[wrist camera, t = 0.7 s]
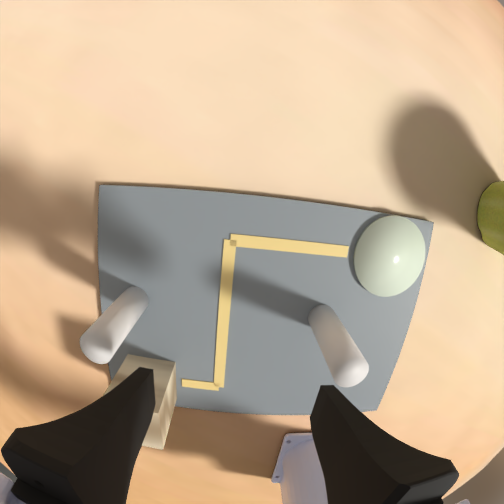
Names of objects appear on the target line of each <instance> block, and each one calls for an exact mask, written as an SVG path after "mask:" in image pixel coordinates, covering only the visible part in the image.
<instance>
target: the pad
mask: <svg viewBox="0 0 504 504" xmlns="http://www.w3.org/2000/svg"><path fill="white" fill-rule="evenodd" d="M424 261H425V242H424V238H423V236H422V233H421V231H420V230H419V228H418V227H417V226H416V225H415V224H414V223H413V222H412V221H410V220H409V219H407V218H404V217H401V216H396V215H388V216H384V217H381V218H379V219H377V220H375V221H373V222H372V223H371V224H370V225H368V226H367V227H366V229H365V230H364V231H363V232H362V234H361V235H360V237H359V239H358V241H357V244H356V246H355V250H354V257H353V264H354V270H355V274H356V276H357V279H358V280H359V282H360V283H361V285H362V286H363V287H364V288H365V289H366V290H367V291H369V292H370V293H372V294H374V295H377V296H381V297H390V296H395V295H398V294H400V293H402V292H403V291H405V290H406V289H408V288H409V287H410V286H411V285H412V284H413V283H414V282H415V281H416V279H417V278H418V276H419V274H420V272H421V270H422V268H423V265H424Z"/></svg>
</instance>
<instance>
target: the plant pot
mask: <svg viewBox="0 0 504 504" xmlns="http://www.w3.org/2000/svg"><path fill="white" fill-rule="evenodd" d="M477 220H478V227H479V229H480V231H481V234H482V239H483V241H484V242H485V244H486V245H488V246H489V247H491V248H493V249H495V250H496V251H498V252H500V253H501V254H503V255H504V181H500V182H494V183H492V184H491V185H490V186H489V187H488V188H487V189H486V190H485V191H484V192H483V193H482V196H481V198H480V201H479V206H478V215H477Z"/></svg>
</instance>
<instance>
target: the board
mask: <svg viewBox="0 0 504 504" xmlns="http://www.w3.org/2000/svg"><path fill="white" fill-rule="evenodd" d="M388 215H393V214H387V213H382V212H376V211H369V210H363V209H357V208H350V207H344V206H337V205H330V204H323V203H316V202H308V201H301V200H293V199H284V198H276V197H267V196H258V195H248V194H238V193H228V192H217V191H205V190H192V189H178V188H163V187H145V186H124V185H99V204H98V265H99V285H100V299H101V311H102V315H101V316H100V317H99V318H98V319H97V320H96V321H95V322H94V323H93V324H92V325H91V326H90V327H89V328H88V329H87V330H86V331H85V332H84V333H83V335H82V336H81V338H80V347H81V350H82V352H83V353H84V354H85V356H86V357H87V358H88V359H90V360H91V361H93V362H95V363H98V364H106V363H108V365H109V371H110V376H111V382H112V380H113V378H114V376H115V375H116V373H117V371H118V370H119V368H120V366H121V365H122V363H123V361H124V360H125V358H126V356H127V355H128V354H130V355H136V356H141V357H147V358H153V359H159V360H165V361H172V362H176V390H177V400H176V404H175V406H177V407H184V408H191V409H199V410H208V411H218V412H229V413H243V414H262V415H311V413H312V410H313V407H314V404H315V401H316V398H317V395H318V392H319V389H320V386H321V385H334V386H335V387H336V388H337V389H338V390H339V391H340V392H341V393H342V394H343V395H344V396H345V397H346V398H347V399H348V400H349V401H350V402H351V403H352V404H353V405H354V406H355V407H356V408H357V409H358V410H359V411H360V412H366V411H375V410H377V408H378V406H379V404H380V402H381V399H382V397H383V395H384V392H385V390H386V388H387V385H388V383H389V380H390V378H391V375H392V373H393V370H394V368H395V365H396V362H397V360H398V357H399V354H400V351H401V349H402V346H403V343H404V340H405V337H406V334H407V331H408V328H409V325H410V321H411V318H412V315H413V311H414V308H415V304H416V301H417V297H418V294H419V290H420V286H421V282H422V278H423V274H424V269H425V265H426V260H427V256H428V251H429V246H430V241H431V235H432V230H433V224H434V222H430V221H425V220H420V219H415V218H410V217H404V216H401V217H404V218H407V219H409V220H410V221H412V222H413V223H414V224H415V225H416V226H417V227H418V228H419V230H420V231H421V233H422V236H423V238H424V242H425V261H424V265H423V268H422V270H421V272H420V274H419V276H418V278H417V279H416V281H415V282H414V283H413V284H412V285H411V286H410V287H409V288H408V289H406V290H405V291H403V292H402V293H400V294H398V295H395V296H390V297H381V296H377V295H374V294H372V293H370V292H369V291H367V290H366V289H365V288H364V287H363V286H362V285H361V283H360V282H359V280H358V279H357V276H356V274H355V270H354V264H353V257H354V250H355V246H356V244H357V241H358V239H359V237H360V235H361V234H362V232H363V231H364V230H365V229H366V227H367V226H368V225H370V224H371V223H372V222H373V221H375V220H377V219H379V218H381V217H384V216H388ZM396 216H399V215H396Z"/></svg>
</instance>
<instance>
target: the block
mask: <svg viewBox="0 0 504 504" xmlns="http://www.w3.org/2000/svg"><path fill="white" fill-rule="evenodd" d="M139 367H144V368H149V369H153V373H154V388H155V401H156V404H155V408H154V412H153V416H152V420H151V423H150V426H149V428H148V431H147V433H146V436H145V438H144V441H143V443H142V446H146V447H151V448H156V449H162V450H163V449H164V445H165V441H166V437H167V434H168V430H169V426H170V422H171V419H172V415H173V411H174V407H175V404H176V400H177V390H176V362H172V361H165V360H159V359H153V358H147V357H141V356H136V355H130V354H128V355H127V356H126V358H125V360H124V361H123V363H122V365H121V366H120V368H119V370H118V371H117V373H116V375H115V376H114V378H113V380H112V382H111V383H110V385H109V387H108V388H107V390H106V392H105V394H107V393H108V392H110V391H111V390H112V389H113V388H115V387H116V386H117V385H118V384H120V383H121V382H122V381H123V380H125V379H126V378H127V377H128V376H129V375H130V374H132V373H133V372H134V371H135V370H136V369H138V368H139ZM105 394H104V395H105ZM104 395H103V396H104Z"/></svg>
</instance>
